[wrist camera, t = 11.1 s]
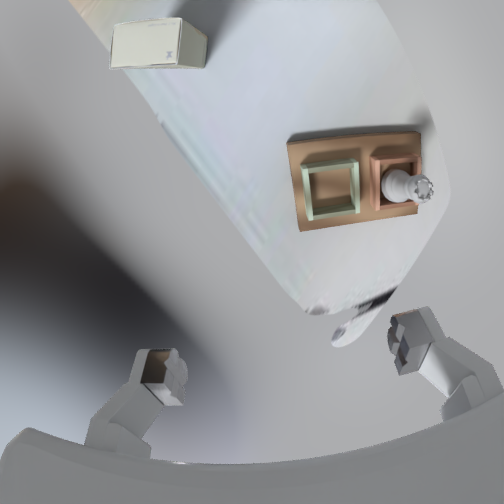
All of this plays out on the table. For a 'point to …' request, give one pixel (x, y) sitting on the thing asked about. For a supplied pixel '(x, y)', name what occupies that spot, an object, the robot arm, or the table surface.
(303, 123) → the table surface
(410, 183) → the rook chess piece
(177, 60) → the skincare box
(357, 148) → the board
